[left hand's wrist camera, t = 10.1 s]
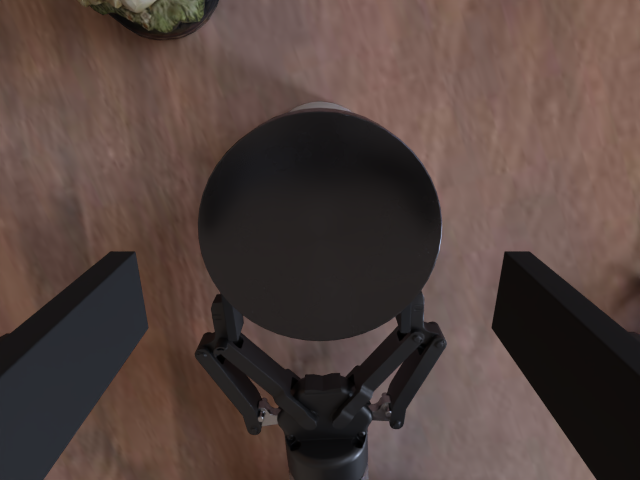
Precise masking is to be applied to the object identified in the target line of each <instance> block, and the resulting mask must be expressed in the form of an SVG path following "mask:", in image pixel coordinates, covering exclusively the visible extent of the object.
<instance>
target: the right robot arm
mask: <svg viewBox="0 0 640 480" xmlns="http://www.w3.org/2000/svg"><path fill="white" fill-rule="evenodd" d="M211 312H212V318H213V324H214V329H215V332H214V333H211V332H207V333H205V334H204V335H203V337H202V339H201V341H200V343H199V346H198V348H197V350H196V352H195V357H196V359H197V360H198V361H199V363H200V364H201V365H202V366H203V368H204V369H205V370H206V371H207V372H208V374H209V375H210V376H211V377H212V379H213V380H214V381H215V382H216V383H217V385H218V386H219V387H220V388H221V390H222V391H223V392H224V393H225V394H226V396H227V397H228V398H229V399H230V401H231V402H232V403H233V404H234V406H235V407H236V408H237V409H238V410H239V412H240V413H241V414H242V415H243V418H244V421H245V424H246V427H247V431H248V432H249V433H250V434H252V435H257V434H259V433H260V432H261V428H262V426H268V425H275V424H278V425H279V426H280V427H281V428H282V430H283V431H284V434H285V442H286V450H287V459H288V467H289V477H290V480H368V440H367V429H368V426H369V424H370V423H371V421H372V420H377V421H389V423H390V426H391V428H393V429H399V428H401V427H402V426H403V424H404V419H405V413H406V408H407V407H408V405H409V404H410V402H411V401H412V399H413V397H414V396H415V394H416V393H417V391H418V390H419V388H420V386H421V385H422V383H423V382H424V380H425V379H426V377H427V375H428V374H429V372H430V371H431V369H432V368H433V366H434V365H435V363H436V361H437V360H438V358H439V357H440V355H441V354H442V352H443V350H444V349H445V347H446V345H447V342H446V340H445V338H444V336H443V334H442V332H441V330H440V328H439V326H438V324H437V323H436V322H429V323H426V322H423V321H424V296H423V294H422V292H421V291H420V293H419V294H418V295H417V296H416V297H415V299H414V300H413V301H412V302H411V303H410V304H409V305H408V306H407V307H406V308H405V309H404V310H403V311H402V312H400V313H399V314H398V315H396V316H395V317H396V320H397V323H398V327H397V328H396V329H395V330H394V331H393V332H392V333H391V334H390V335H389V336H388V337H387V338H386V339H385V340H384V341H383V342H382V343H381V344H380V345H379V346H378V347H377V349H376V350H375V351H374V352H373V353H372V354H371V355H370V356H369V357H368V358H367V359H366V360H365V361H364V362H363V363H362V364H361V365H360V366H356V367H355V368H354V369H353V370H352V371H351V372H350V373H349V374H348V375H347V376H346V377H343V376H340V373H331V374H328V375H324V376H321V375H315V374H309V375H305V378H302V379H300V378H299V377H298V376H297V375H296V374H294V373H293V372H292V371H291V370H289V369H284V368H282V367H281V366H280V365H279V364H278V363H277V362H275V361H274V360H273V359H272V358H271V357H269V356H268V355H267V354H266V353H265V352H263V351H262V350H261V349H260V348H259V347H257V346H256V345H255V344H254V343H253V342H251V341H250V340H249V339H248V338H247V337H246V336H244V335H243V334H242V333H241V329H242V326H243V323H244V321H243V315H242V314H241V313H240V312H239V311H237V310H236V309H235V308H234V307H233V306H232V305H231V304H230V303H229V302H228V301H227V300H226V299H225V297H224V296H223V295H222V294H217V295H216V297H215V299H214V301H213V303H212V307H211ZM403 361H404V362H403ZM402 362H403V363H402ZM401 363H402V365H401V367H400V368H399V370H398V371H397V373H396V375H395V376H394V378H393V380H392V381H391V383H390V385H389V388H388V392H387V393H386V392H385V393H382V397H381V398H380V400H379V401H378V402H377V403H376V404H371V403H370V401H369V400H370V399H371V397H372V394H373V392H374V390H375V389H376V388H377V387H378V386H379V385H380V384H381V383H382V382H383V381H384V380H385V379H386V378H387V377H388V376H389V375H390V374H391V373H392V372H393V371H394V370H395V369H396V368H397V367H398V366H399V365H400V364H401ZM247 376H248V377H250V378H251V379H252V380H253V381H255V382H256V383H257V384H258V385H260V386H261V387H262V388H263V389H264V390H266V391H267V392H268V393H269V394H271V395H272V396H273V398H274V401H275V403H276V404H277V405H278V406H279V407H278V408H273V407H271V406H270V405H269V403H268V402H267V399H266V398H262V399H261V396H260V394H259V392H258V390H257V388H256V387H255V386H254V384H253V383H252V382H251V381H250V379H249V378H248V377H247Z"/></svg>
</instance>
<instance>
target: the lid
mask: <svg viewBox="0 0 640 480" xmlns="http://www.w3.org/2000/svg"><path fill="white" fill-rule="evenodd" d="M198 236H199V243H200V249H201V254H202V257H203V260H204V263H205V266H206V268H207V270H208V272H209V274H210V276H211V278H212V281H213V282H214V284H215V285H216V287H217V288H218V290H219V291H220V293H221V294H222V295H223V296H224V297H225V299H226V300H227V301H228V302H229V303H230V304H231V305H232V306H233V307H234V308H235V309H236V310H237V311H239V312H240V313H241V314H242V315H244V316H245V317H246V318H248V319H249V320H251V321H252V322H254V323H256V324H257V325H259V326H261V327H263V328H265V329H267V330H269V331H272V332H274V333H277V334H280V335H283V336H287V337H290V338H295V339H301V340H310V341H329V340H339V339H345V338H350V337H353V336H357V335H360V334H363V333H366V332H368V331H371V330H373V329H375V328H377V327H379V326H381V325H383V324H384V323H386V322H388V321H390V320H391V319H392V318H394V317H395V316H396V315H398V314H399V313H400V312H402V311H403V310H404V309H405V308H406V307H407V306H408V305H409V304H410V303H411V302H412V301H413V300H414V299H415V297H416V296H417V295H418V294H419V293H420V291H421V290H422V288H423V287H424V285H425V283H426V282H427V280H428V279H429V276H430V274H431V272H432V270H433V268H434V266H435V263H436V260H437V256H438V253H439V249H440V243H441V237H442V217H441V208H440V204H439V200H438V196H437V192H436V189H435V187H434V184H433V182H432V180H431V177H430V176H429V174H428V172H427V170H426V169H425V167H424V165H423V164H422V162H421V161H420V160H419V159H418V157H417V156H416V155H415V154H414V152H413V151H412V150H411V149H410V148H409V147H408V146H407V145H406V144H404V143H403V142H402V141H401V140H400V139H399V138H398V137H396V136H395V135H393V134H392V133H391V132H389V131H388V130H387V129H385V128H384V127H382V126H381V125H379V124H378V123H376V122H374V121H372V120H370V119H368V118H366V117H364V116H361V115H358V114H355V113H352V112H349V111H344V110H339V109H332V108H309V109H301V110H296V111H291V112H287V113H285V114H282V115H279V116H276V117H274V118H272V119H270V120H268V121H266V122H264V123H262V124H260V125H259V126H258V127H256V128H255V129H253V130H252V131H251V132H249V133H248V134H247V135H245V136H244V137H243V138H241V139H240V140H239V141H238V142H237V143H235V144H234V145H233V146H232V147H231V148H230V149H229V150H228V151H227V152H226V154H225V155H224V156H223V157H222V159H221V160H220V161H219V163H218V164H217V165H216V167H215V169H214V170H213V172H212V174H211V176H210V177H209V179H208V182H207V184H206V187H205V189H204V192H203V195H202V199H201V204H200V208H199V218H198Z"/></svg>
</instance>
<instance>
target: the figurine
mask: <svg viewBox="0 0 640 480" xmlns="http://www.w3.org/2000/svg"><path fill="white" fill-rule="evenodd" d="M77 1H78V2H79V3H80V4H81V5H82V6H84V7H88V6H90V7H91V8H92V9H94V10H95V11H97V12H98V13H100V14H102V15H106V14H109V15H111V16H112V17H113V18H114V19H116V20H117V21H118V22H120V23H121V24H122V25H123V26H125V27H126V28H128V29H129V30H131V31H133V32H134V33H136V34H138V35H139V36H142V37H146V38H149V39H155V40H165V39H177V38H181V37H184V36H187V35H189V34H191V33H193V32H194V31H196V30H197V29H199V28H200V27H201V26H203V25H204V24H205V23H206V22H207V21H208V20H209V18H210V17H211V15H212V13H213V12H214V10H215V8H216V7H217V4H218V1H219V0H77Z"/></svg>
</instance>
